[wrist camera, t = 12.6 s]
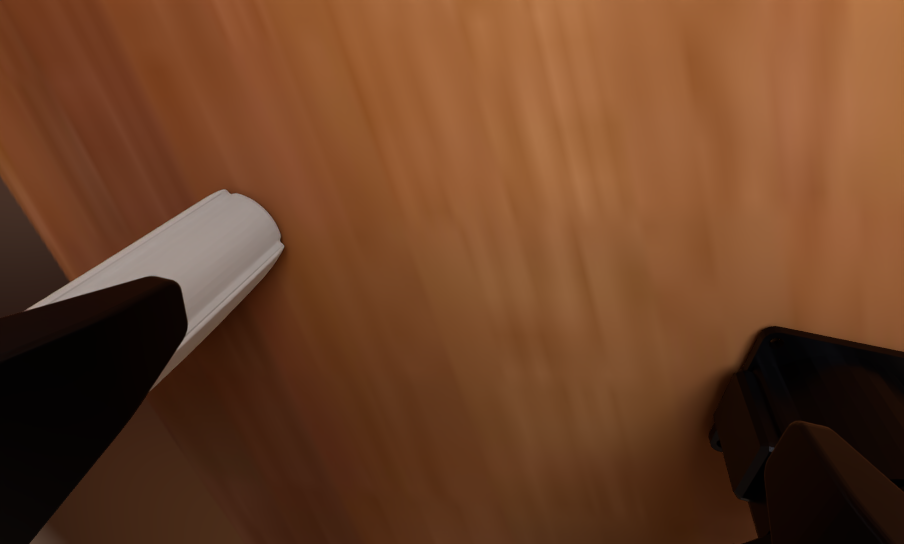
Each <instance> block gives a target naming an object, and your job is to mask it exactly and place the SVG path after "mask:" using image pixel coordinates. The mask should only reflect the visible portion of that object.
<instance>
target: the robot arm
mask: <svg viewBox="0 0 904 544" xmlns="http://www.w3.org/2000/svg"><path fill="white" fill-rule="evenodd" d="M187 329H188V319H187V314H186V309H185V304H184V299H183V294H182V289H181V287H180V285H179V284H178V282H176V281H174V280H171V279H167V278H162V277H158V276H146V277H143V278H139V279H136V280H132V281H129V282H125V283H122V284H118V285H115V286H111V287H108V288H104V289H101V290H97V291H94V292H90V293H86V294H83V295H79V296H76V297H72V298H69V299H65V300H62V301H58V302H55V303H51V304H48V305H44V306H41V307H37V308H34V309H30V310H27V311H23V312H19V313H16V314H12V315H9V316H5V317H2V318H0V544H29V543H30V542H31V541H32V540H33V539H34V537H35V536H36V535H37V534H38V532H39V531H40V530H41V529H42V527H43V526H44V525H45V524H46V523H47V521H48V520H49V519H50V518H51V516H52V515H53V514H54V513H55V512H56V510H57V509H58V508H59V506H60V505H61V504H62V503H63V502H64V500H65V499H66V498H67V497H68V496H69V494H70V493H71V492H72V491H73V489H74V488H75V487H76V486H77V485H78V483H79V482H80V481H81V480H82V478H83V477H84V476H85V475H86V473H87V472H88V471H89V470H90V468H91V467H92V466H93V465H94V464H95V462H96V461H97V460H98V458H99V457H100V456H101V455H102V454H103V453H104V451H105V450H106V449H107V448H108V446H109V445H110V444H111V443H112V442H113V440H114V439H115V438H116V436H117V435H118V434H119V433H120V432H121V430H122V429H123V428H124V426H125V425H126V424H127V423H128V421H129V420H130V419H131V417H132V416H133V415H134V413H135V412H136V410H137V409H138V407H139V406H140V405H141V403H142V402H143V400H144V399H145V397H146V396H147V394H148V393H149V391H150V390H151V388H152V387H153V385H154V383H155V382H156V380H157V379H158V377H159V376H160V374H161V373H162V371H163V370H164V368H165V367H166V365H167V364H168V362H169V361H170V359H171V358H172V356H173V355H174V353H175V352H176V350H177V349H178V347H179V346H180V344H181V343H182V341H183V340H184V338H185V336H186V333H187ZM774 338H781V339H780V340H779V341H777V342H770V340H771V339H774ZM714 420H715V423H714V425H713V427H712V429H711V431H710V433H709V440H710V444H711V447H712V448H713V449H715V450H717V451H720V452H723V455H724V459H725V462H726V466H727V470H728V474H729V478H730V482H731V485H732V489H733V492H734V493H735V495H736V496H737V498H738V499H740V500H745V501H748V503H749V507H750V510H751V514H752V518H753V521H754V525H755V528H756V532H757V535H758V538H757V539H754V540H751V541H748V542H746V543H743V544H904V352H901V351H896V350H891V349H886V348H881V347H877V346H872V345H867V344H862V343H857V342H852V341H847V340H842V339H837V338H832V337H827V336H822V335H818V334H813V333H808V332H803V331H798V330H793V329H788V328H783V327H776V326H773V327H768V328H766V329H764V330H763V331H762V332H761V333H760V335H759V337H758V339H757V340H756V342H755V344H754V346H753V348H752V350H751V352H750V354H749V356H748V358H747V360H746V362H745V364H744V366H743V368H742V369H740V370H739V371H737V372H736V373H734V375H733V377H732V379H731V381H730V383H729V385H728V387H727V389H726V391H725V393H724V395H723V397H722V399H721V401H720V403H719V405H718V407H717V409H716V411H715V413H714Z"/></svg>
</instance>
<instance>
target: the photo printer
mask: <svg viewBox="0 0 904 544" xmlns="http://www.w3.org/2000/svg"><path fill="white" fill-rule="evenodd" d="M280 238H281V234H280V231H279V229H278V227H277V225H276V223H275V221H274V220H273V218H272V217H271V216H270V215H269V213H268V212H267V211H266V210H265V209H264V208H263V207H262V206H261V205H259V204H258V203H257V202H255V201H254V200H252V199H250V198H248V197H246V196H244V195H241V194H237V193H235V194H230V193H229V192H228V191H227V190H225V189H223V190H220V191H217V192H215V193H213V194H211V195H209V196H208V197H206V198H204V199H203V200H201V201H199V202H198V203H196V204H195V205H193V206H191V207H190V208H188V209H187V210H185V211H184V212H182V213H180V214H179V215H177V216H176V217H174V218H172V219H171V220H169V221H168V222H166V223H164V224H163V225H161V226H160V227H158V228H157V229H155V230H153V231H152V232H150V233H149V234H147V235H145V236H144V237H142V238H141V239H139V240H137V241H136V242H134V243H133V244H131V245H129V246H128V247H126V248H125V249H123V250H121V251H120V252H118V253H117V254H115V255H113V256H112V257H110V258H109V259H107V260H105V261H104V262H102V263H101V264H99V265H97V266H96V267H94V268H93V269H91V270H89V271H88V272H86V273H85V274H83V275H81V276H80V277H78V278H77V279H75V280H73V281H72V282H70V283H69V284H67V285H65V286H64V287H62V288H60V289H59V290H57V291H56V292H54V293H52V294H51V295H49V296H48V297H46V298H44V299H43V300H41V301H40V302H38V303H36V304H35V305H33V306H32V307H30V308H28V309H27V310H30V309H34V308H37V307H41V306H44V305H48V304H51V303H55V302H58V301H62V300H65V299H69V298H72V297H76V296H79V295H83V294H86V293H90V292H94V291H97V290H101V289H104V288H108V287H111V286H115V285H118V284H122V283H125V282H129V281H132V280H136V279H139V278H143V277H146V276H158V277H162V278H167V279H171V280H174V281H176V282H178V284H179V285H180V287H181V289H182V294H183V299H184V304H185V309H186V314H187V319H188V329H187V333H186V336H185V338H184V340H183V341H182V343H181V344H180V346H179V347H178V349H177V350H176V352H175V353H174V355H173V356H172V358H171V359H170V361H169V362H168V364H167V365H166V367H165V368H164V370H163V371H162V373H161V374H160V376H159V377H158V379H157V380H156V382H155V383H154V385H153V387H152V388H151V390H152V389H153V388H154V387H155V386H156V385H157V384H158V383H159V382H160V381H161V380H162V379H163V378H164V377H166V376H167V375H168V374H169V373H170V372H171V371H172V370H173V369H174V368H175V367H176V366H177V365H178V364H179V363H180V362H181V361H182V360H183V359H184V358H186V357H187V356H188V355H189V354H190V353H191V352H192V351H193V350H194V349H195V348H196V347H197V346H198V345H199V344H200V343H201V342H202V341H203V340H204V339H205V338H206V337H207V336H208V335H209V334H210V333H211V332H212V331H213V330H214V329H215V328H216V327H217V326H218V325H219V324H220V323H221V322H222V321H223V320H224V319H225V318H226V317H227V316H228V314H229V313H230V312H231V311H232V310H233V309H234V308H235V307H236V306H237V305H238V304H239V303H240V302H241V301H242V300H243V299H244V298H245V297H246V296H247V295H248V294H249V293H250V292H251V291H252V289H253V288H254V287H255V286H256V285H257V284H258V283H259V282H260V281H261V280H262V279H263V278H264V277H265V276H266V274H267V273H268V272H269V271H270V269H271V268H272V267H273V265H274V264H275V262H276V261H277V259H278V258H279V256H280V254H281V253H282V251H283V249H284V245H283V244H282V243H281V242H280ZM27 310H25V311H27ZM151 390H150V391H151ZM150 391H149V392H150Z"/></svg>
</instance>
